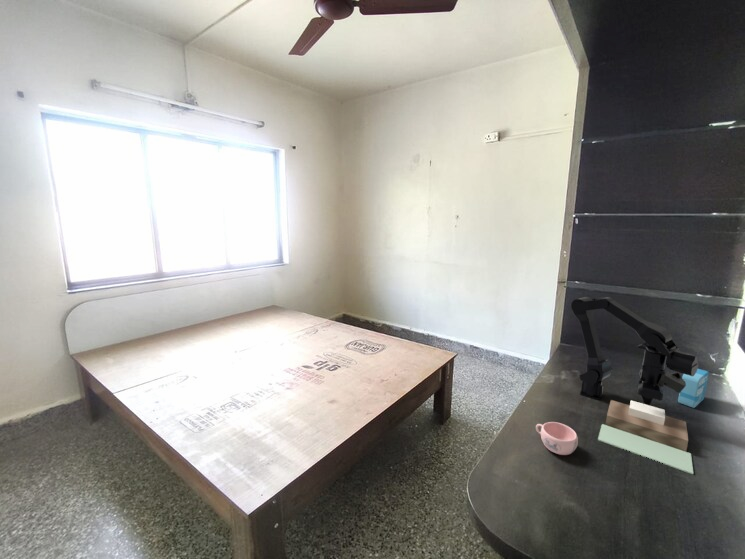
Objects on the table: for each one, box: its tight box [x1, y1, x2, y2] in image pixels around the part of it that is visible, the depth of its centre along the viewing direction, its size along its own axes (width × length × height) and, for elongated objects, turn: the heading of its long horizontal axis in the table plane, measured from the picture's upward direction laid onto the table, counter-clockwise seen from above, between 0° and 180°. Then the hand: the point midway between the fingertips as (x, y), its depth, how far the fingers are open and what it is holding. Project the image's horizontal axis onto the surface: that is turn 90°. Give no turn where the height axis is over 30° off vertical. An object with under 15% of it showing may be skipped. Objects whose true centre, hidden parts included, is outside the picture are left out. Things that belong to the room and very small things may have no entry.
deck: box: [605, 399, 689, 452], centre depth 109 cm, size 20×12×4 cm, turn 49°
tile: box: [628, 400, 666, 425], centre depth 110 cm, size 9×6×2 cm, turn 49°
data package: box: [677, 368, 710, 409], centre depth 123 cm, size 12×4×12 cm, turn 122°
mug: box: [535, 421, 579, 456], centre depth 101 cm, size 12×10×6 cm
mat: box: [597, 423, 694, 475], centre depth 101 cm, size 22×10×1 cm, turn 49°
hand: (646, 405), depth 114 cm, fingers closed
